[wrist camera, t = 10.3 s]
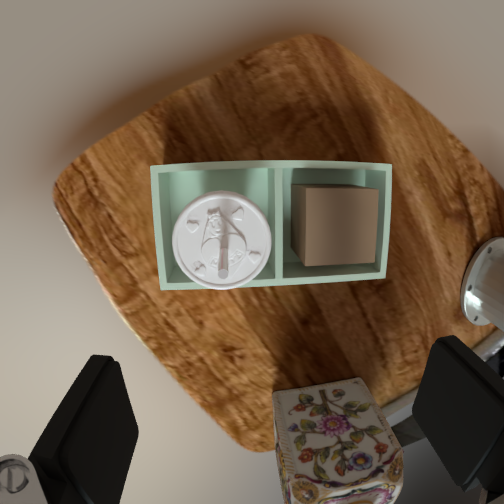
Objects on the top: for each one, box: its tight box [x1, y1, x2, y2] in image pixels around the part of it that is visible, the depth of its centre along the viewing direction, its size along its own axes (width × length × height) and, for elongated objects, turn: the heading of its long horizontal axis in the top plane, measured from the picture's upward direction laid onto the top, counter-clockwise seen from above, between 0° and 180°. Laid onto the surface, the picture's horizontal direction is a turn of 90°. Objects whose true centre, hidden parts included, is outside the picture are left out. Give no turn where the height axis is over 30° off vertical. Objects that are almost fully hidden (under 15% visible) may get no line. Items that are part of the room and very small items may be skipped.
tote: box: [150, 160, 392, 290], centre depth 28 cm, size 20×10×5 cm, turn 91°
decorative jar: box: [272, 377, 404, 504], centre depth 29 cm, size 12×12×18 cm
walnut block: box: [290, 184, 379, 266], centre depth 27 cm, size 6×6×6 cm
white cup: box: [172, 190, 271, 290], centre depth 22 cm, size 6×6×14 cm
